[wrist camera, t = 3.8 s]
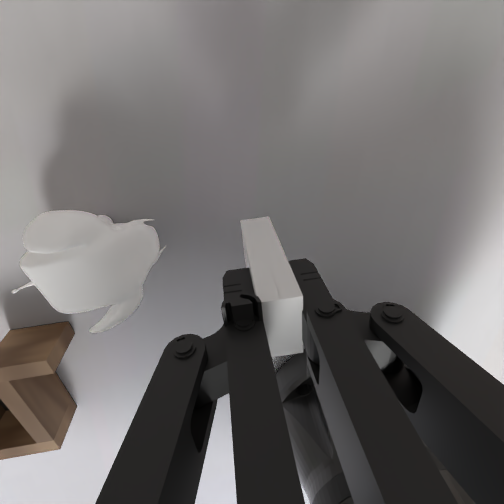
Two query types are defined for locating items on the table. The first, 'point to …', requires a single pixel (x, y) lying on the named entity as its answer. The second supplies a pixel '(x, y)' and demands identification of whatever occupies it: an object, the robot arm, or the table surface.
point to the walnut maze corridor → (33, 390)
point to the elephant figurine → (89, 263)
